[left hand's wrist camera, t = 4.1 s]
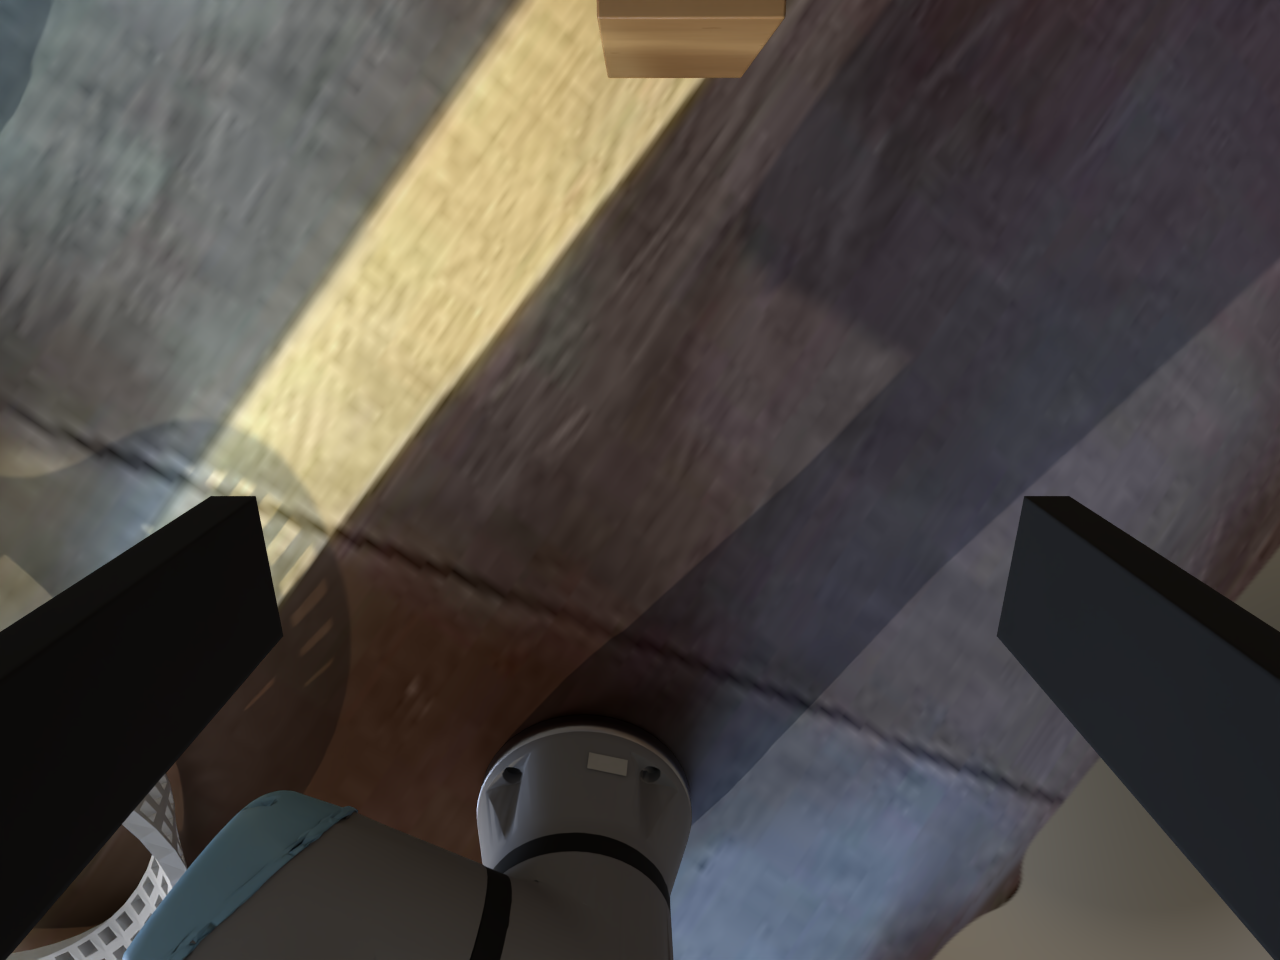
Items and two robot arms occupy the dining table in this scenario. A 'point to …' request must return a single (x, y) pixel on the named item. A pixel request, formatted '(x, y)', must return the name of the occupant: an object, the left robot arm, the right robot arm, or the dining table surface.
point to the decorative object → (154, 824)
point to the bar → (685, 36)
